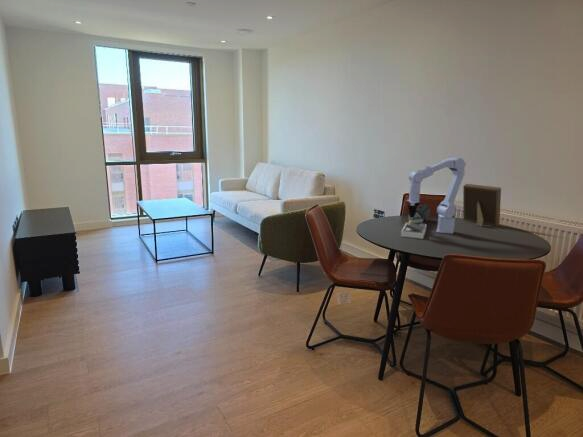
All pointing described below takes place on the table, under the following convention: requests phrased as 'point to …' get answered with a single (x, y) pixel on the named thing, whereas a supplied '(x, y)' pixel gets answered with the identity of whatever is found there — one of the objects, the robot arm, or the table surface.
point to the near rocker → (413, 226)
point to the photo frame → (481, 204)
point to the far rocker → (417, 221)
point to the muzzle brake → (420, 213)
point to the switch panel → (413, 232)
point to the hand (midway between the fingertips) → (412, 215)
